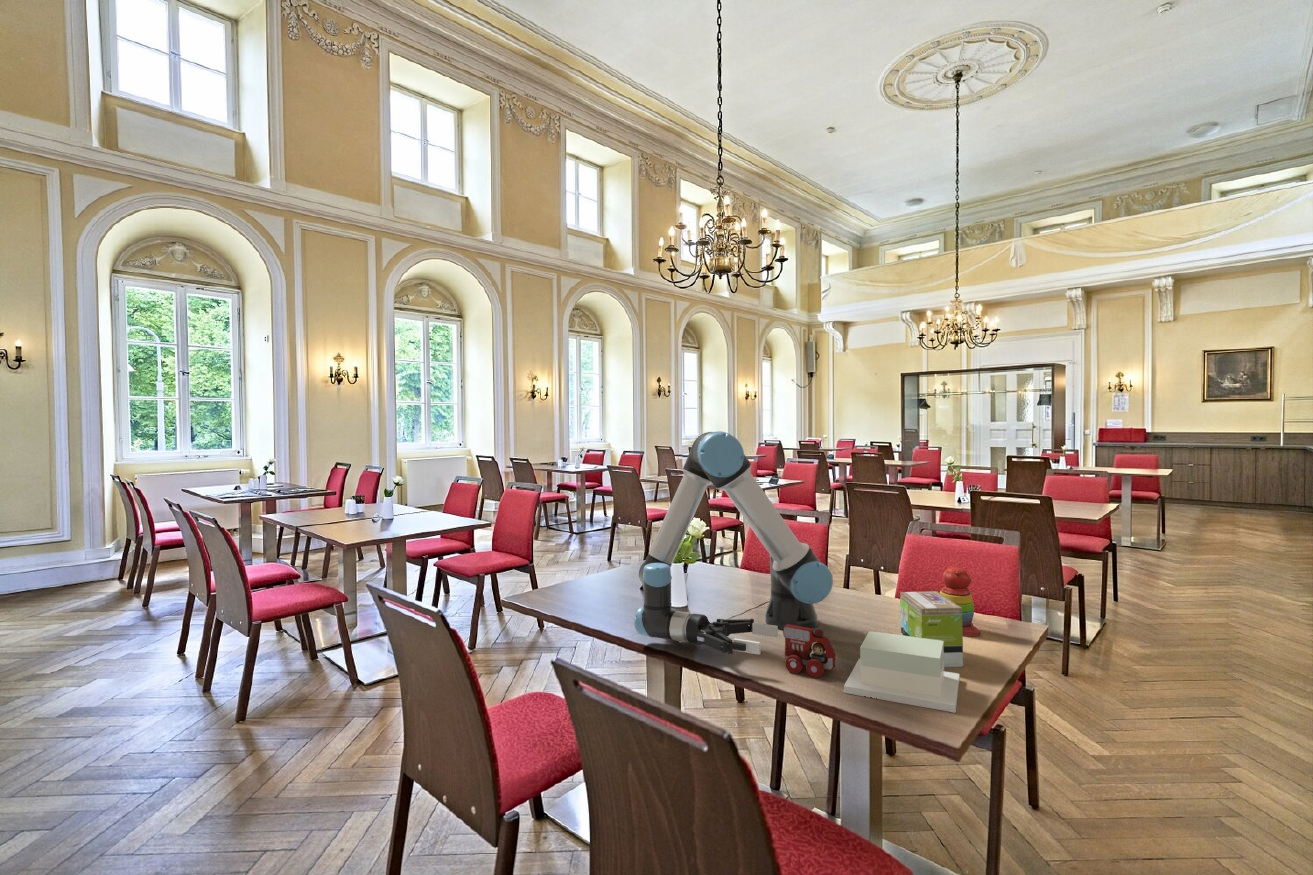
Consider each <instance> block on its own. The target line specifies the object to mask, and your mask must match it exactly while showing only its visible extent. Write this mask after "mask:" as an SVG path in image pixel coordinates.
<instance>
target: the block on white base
mask: <svg viewBox="0 0 1313 875" xmlns="http://www.w3.org/2000/svg"><path fill="white" fill-rule="evenodd" d="M859 654H860V655H859V656H860V658H858V660H857V661H856V663H855V665H854V667H853V669H852V671H851V672H850V675H849V677H847V680H846V681H845V683H844V685H843V693H844V694H849V695H855V696H860V697H864V696H866V698H870V697H872V698H871V699H876V698H877V699H878V700H882V701H887V702H893V703H899V704H904V705H908V706H909V705H910V706H915V707H921V708H926V709H927V708H928V709H933V710H936V711H937V710H938V711H943V712H950V713H955V714H956V712H957V705H958V704H957V703H958V696H959V687H960V673H957V672H951V671H945V667H944V641H941V640H933V639H926V638H918V637H910V636H903V635H901V634H894V633H886V632H881V631H880V632H879V631H870V630H869V631H868V632H867V635H866V636H865V638H864V640H863V642H862V643H861V645H860V647H859Z"/></svg>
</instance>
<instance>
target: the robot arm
mask: <svg viewBox="0 0 1313 875" xmlns="http://www.w3.org/2000/svg"><path fill="white" fill-rule="evenodd" d="M685 460H686V461H685V463H684V465H683V468H682V473H683V476H682V478H681V481H680V483H679V484H678V486H677V488H676V492H675V494H674V495H673V498H672V500H671V503H670V505H669V507H668V510H667V512H666V514H665V516H664V518H663V520H662V521H661V522H662V523H661V525H660V527H659V529H658V532H657V533H656V536H655V538H654V541H653V542H652V545H651V547H650V550H649V551H648V554H647V556H646V557H645V560H644V561H643V562H642V563H641V565H640V566H639V570H638V578H639V580H640V582H641V584H642V588H643V589H642V590H643V606H641V607H638V609H637V610H636V613H635V618H634V619H633V620H634V621H633V624H634V629H635V630H636V632H637V633H638V634H639V635H641V636H642V635H643V636H647V637H649V638H655V639H663V640H669V641H670V640H671V641H677V642H679V643H680V644H683V643H689V644H692V645H700V646H702V645H704V646H706V647H709V648H711V649H714V650H716V651H718V652H721V653H723V654H727V655H733V652H734V651H735V652H740V653H748V654H752V655H753V654H754V655H759V656H760V655H761V642H760V641H754V640H747V639H741V638H733V639H732V638H730V635H734V634H744V633H752V634H753V635H758V636H759V635H760V636H765V637H766V636H767V637H773V638H778V636H779V633H778V632H779V631H778V630H783V628H784V626H785V625H787V624H788V625H794V626H800V627H806V628H811V629H814V628H815V627H817V625H818V614H817V612H816V609H815V606H814V604H815V605H816V604H819V603H820V602H823V600H826V598H827V597H828V596H829V595H830V593H831V591H832V588H833V584H834V580H833V579H834V578H833V574H832V572H831V570H830V569H829V567H828V566H827V565H826V564H825V563H823V562H821V560H819V558H818V556H817V555H816V554H815V553H814V551H813V549H812V548H811V546H809V544H807V543H805V542H801V541H799V540H798V537H797V536H796V535H795V534H794V533H793V531H792V530H791V528H790V527H789V525H788V523H786V521H785V519H784V518H783V517H782V515H781V514H780V512H779V511H778V510H777V508H776V507H775V505H774V504H773V502H772V501H771V500H770V499H769V497H768V495H767V494H766V492H765V491H764V490H763V489H762V487H761V486H760V484H759V483H758V482H757V480H756V478H755V477H754V475H753V474H752V472H751V470H752V463H751V461H750V460H749V459H748V458H747V456H746V455H745V450H744V447H743V446H742V444H741V442H740V441H739V439H737V438H736V437H735V436H734V435H732V434H731V433H728V432H725V431H706V432H703V433H702V434H700V435H699V436H698V437H697V438H695V440H694V441H693V443H692V444H691V447H690V450H689V453H688V455H687V459H685ZM710 485H713V486H714V488H715V489H716V490H720V491H724V492H725V493H726V495H727V497H728V498H729V499H730V501H731V502H732V503H733V505H734V506H735V508H736V509H737V511H738V512H739V513H740V514H741V516H742V517H743V519H744V520H745V521H746V523H747V524H748V526H749V527H750V528H751V531H753V533H754V534H755V536H756V538H757V539H758V540H759V542H760V543H761V544H762V546H763V547H764V548H765V550H766V551H767V553H768V554H769V560H770V562H769V564H770V565H769V567H770V568H769V571H770V572H769V573H770V599H769V601H768V604H767V608H766V611H765V615H764V616H765V618H764V619H765V623H761V622H755V618H750V619H741V618H740V619H737V618H735V619H730V618H729V619H724V618H716V621H713V622H710V621H709V618H708V616H707V615H705V614H701V613H700V614H699V613H691V612H687V611H679V610H673V609H672V580H673V577H672V572H671V571H672V570H671V567H672V565H673V562H674V561H675V558H676V556H677V554H678V552H679V549H680V547H681V545H682V543H683V540H684V538H685V537H686V534H687V532H688V529H689V527H690V525H691V523H692V521H693V519H694V517H695V514H696V512H697V510H698V507H699V505H700V503H701V501H702V499H703V497H704V494H705V492H706V490H707V488H708V486H710Z"/></svg>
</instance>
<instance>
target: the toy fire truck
mask: <svg viewBox="0 0 1313 875" xmlns="http://www.w3.org/2000/svg"><path fill="white" fill-rule="evenodd" d="M782 635H783V637H784V659H785V662H784V665H785V668H786V671H788V672H789V673H791V674H798V673H800V672H801V671H802V670H803V668H804V667H805V670H806V673H807V674H808V676H810V677H811V678H813V679H817V678H820V677H822V676H823V674H824V672H825V671H833V670H834V669H836V652H835V650H834V649H833V647H832V644H831V641H830V640H829V638H828V637H827V636H824V631H823V629H821V628H817V629H815V630H814V628H806V627H800V626H794V625H788V624H787V625H785V626H784V628H783V629H782ZM812 652H813V653H812Z"/></svg>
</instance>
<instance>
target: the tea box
mask: <svg viewBox="0 0 1313 875" xmlns="http://www.w3.org/2000/svg"><path fill="white" fill-rule="evenodd" d="M899 596H900V597H899V600H900V606H899V607H900V610H899V611H900V631H901V632H900V635H903V636H910V637H918V638H926V639H933V640H941V641H944V668H963V667H964V638H963V629H962V608H961V607H960V606H958V605H957V604H955V603H954V602H952V601H950V600H949V599H947V598H946V597H944V596H943V595H941V594H940V592H939V591H936V590H934V591H900V592H899Z"/></svg>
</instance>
